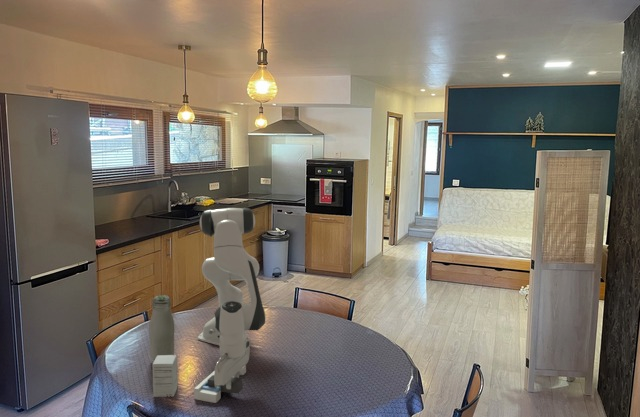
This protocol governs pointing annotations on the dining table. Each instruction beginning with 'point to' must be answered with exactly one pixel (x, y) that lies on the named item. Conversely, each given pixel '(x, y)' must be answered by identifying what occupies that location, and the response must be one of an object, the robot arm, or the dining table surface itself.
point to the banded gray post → (235, 382)
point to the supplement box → (165, 375)
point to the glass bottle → (161, 327)
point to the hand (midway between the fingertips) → (232, 385)
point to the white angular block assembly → (210, 389)
